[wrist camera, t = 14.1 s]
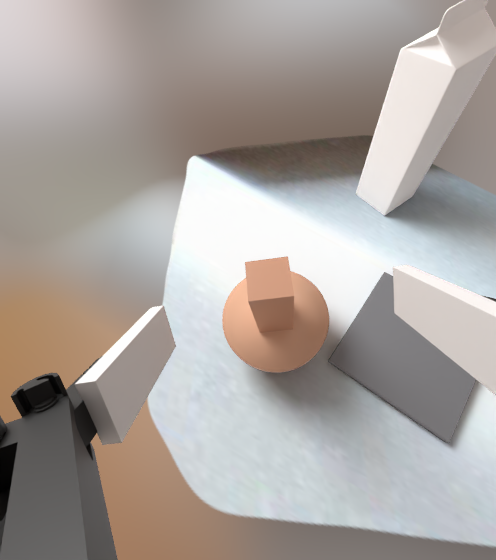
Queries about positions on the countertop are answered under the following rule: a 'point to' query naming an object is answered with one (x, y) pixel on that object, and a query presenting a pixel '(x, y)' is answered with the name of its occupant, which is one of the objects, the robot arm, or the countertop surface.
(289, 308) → the lid
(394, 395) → the mat
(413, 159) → the milk
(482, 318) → the robot arm
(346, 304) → the countertop surface
